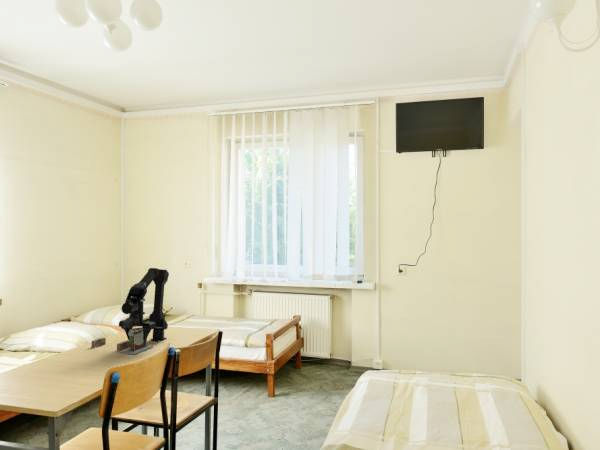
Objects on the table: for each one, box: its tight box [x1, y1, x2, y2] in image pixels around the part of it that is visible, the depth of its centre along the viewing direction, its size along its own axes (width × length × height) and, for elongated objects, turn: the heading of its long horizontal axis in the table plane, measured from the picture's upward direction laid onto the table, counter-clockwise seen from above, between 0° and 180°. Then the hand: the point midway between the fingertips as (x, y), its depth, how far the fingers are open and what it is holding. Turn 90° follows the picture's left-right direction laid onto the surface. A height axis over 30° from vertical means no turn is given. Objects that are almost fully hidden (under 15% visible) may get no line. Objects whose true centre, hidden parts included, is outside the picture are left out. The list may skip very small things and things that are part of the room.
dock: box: [91, 337, 130, 352], centre depth 239 cm, size 8×18×4 cm, turn 72°
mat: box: [119, 345, 154, 356], centre depth 234 cm, size 15×9×1 cm, turn 162°
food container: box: [128, 326, 148, 351], centre depth 236 cm, size 12×6×10 cm, turn 162°
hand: (136, 341), depth 234 cm, fingers open, 9 cm apart
